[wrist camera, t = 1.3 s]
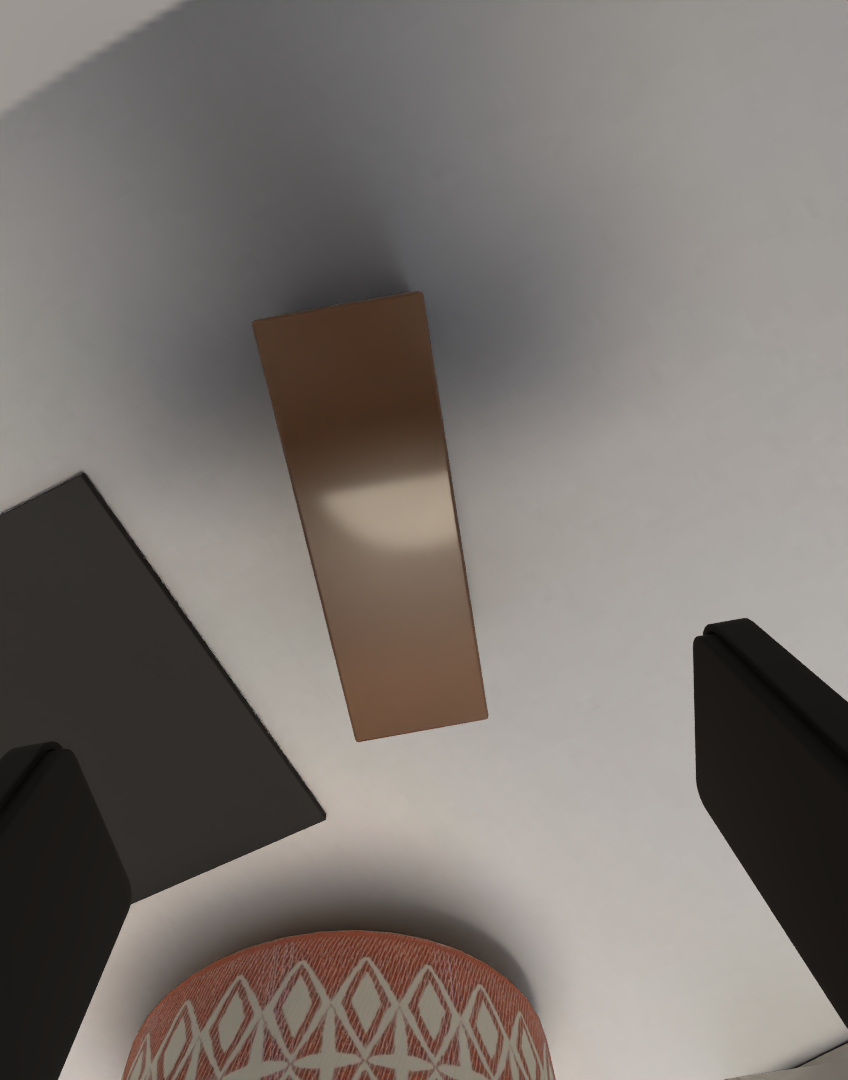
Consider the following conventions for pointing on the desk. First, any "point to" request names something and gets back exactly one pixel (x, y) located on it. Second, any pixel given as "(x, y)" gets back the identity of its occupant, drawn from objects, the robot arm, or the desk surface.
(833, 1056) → the cassette
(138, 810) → the black mat
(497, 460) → the desk surface
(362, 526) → the bar
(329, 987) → the planter
